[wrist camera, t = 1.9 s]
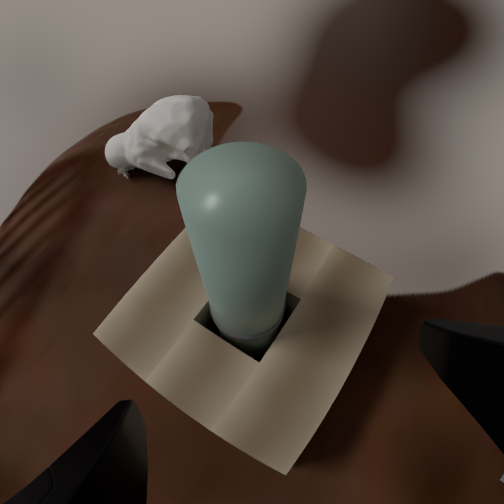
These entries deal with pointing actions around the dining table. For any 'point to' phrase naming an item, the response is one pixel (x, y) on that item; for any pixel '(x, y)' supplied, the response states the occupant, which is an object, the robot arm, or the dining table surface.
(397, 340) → the dining table surface
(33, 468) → the dining table surface
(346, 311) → the square hole wooden block
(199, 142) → the white rounded figure
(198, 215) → the plug
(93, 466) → the robot arm
